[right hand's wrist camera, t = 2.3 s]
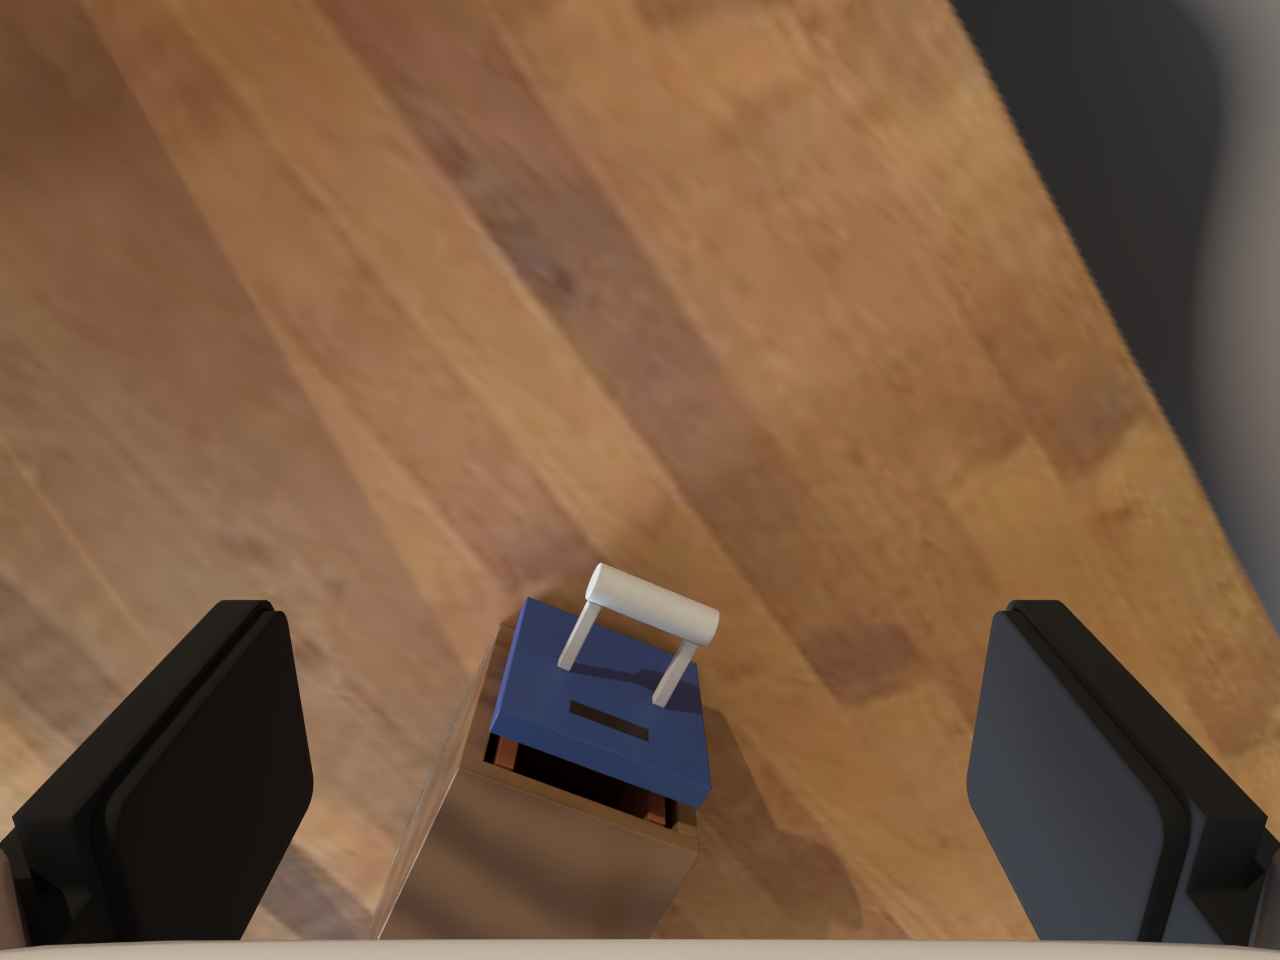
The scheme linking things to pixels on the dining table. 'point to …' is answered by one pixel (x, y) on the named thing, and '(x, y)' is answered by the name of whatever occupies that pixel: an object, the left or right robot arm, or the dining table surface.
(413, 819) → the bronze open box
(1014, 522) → the dining table surface
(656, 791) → the drawer
